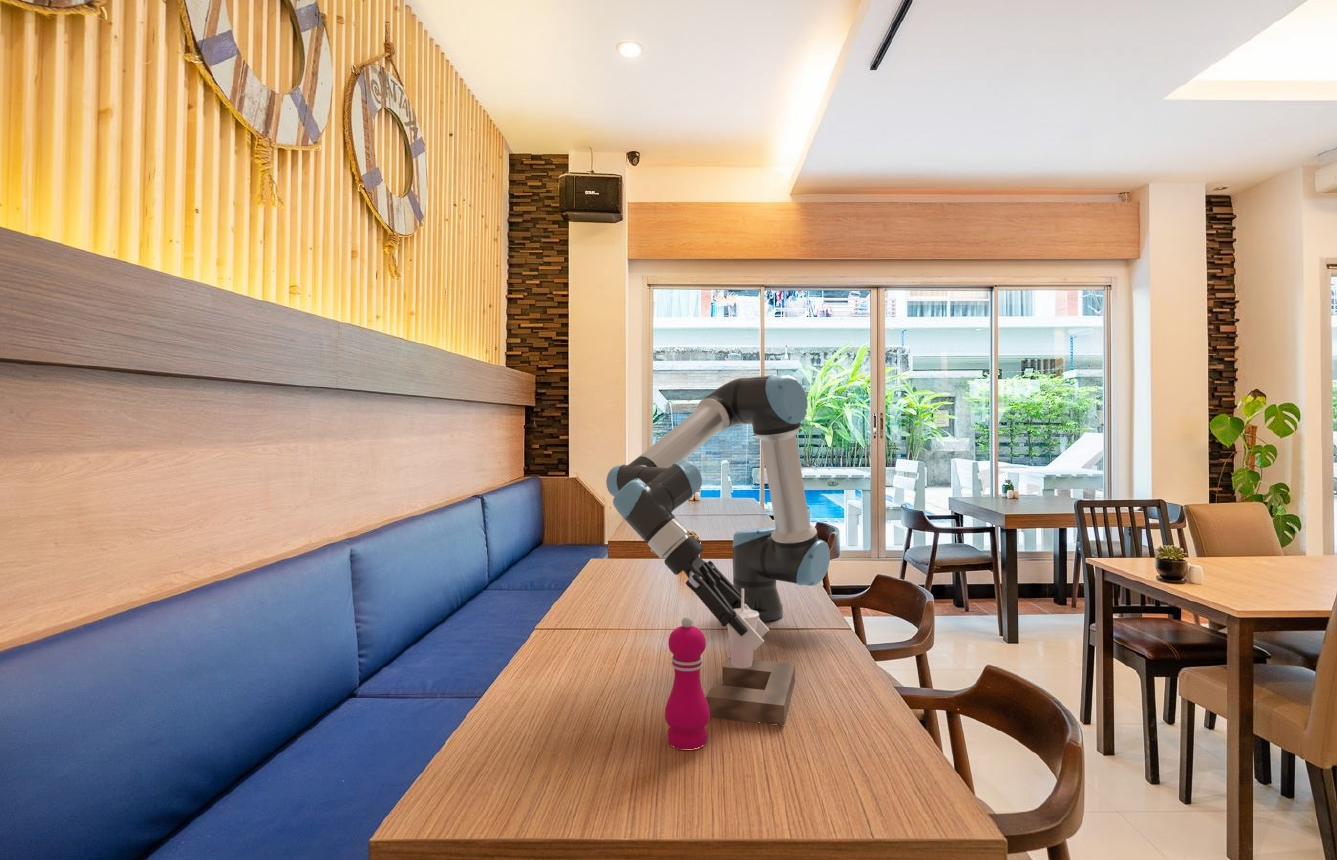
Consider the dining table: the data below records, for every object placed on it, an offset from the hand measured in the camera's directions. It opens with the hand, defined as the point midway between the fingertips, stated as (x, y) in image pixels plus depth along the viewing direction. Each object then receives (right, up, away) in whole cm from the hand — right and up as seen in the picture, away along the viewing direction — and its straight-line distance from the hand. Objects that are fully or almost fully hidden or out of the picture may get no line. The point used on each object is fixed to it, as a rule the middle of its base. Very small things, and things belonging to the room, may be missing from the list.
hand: (761, 640), depth 118 cm
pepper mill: (-14, -11, -16) cm, 24 cm away
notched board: (-1, -11, +1) cm, 11 cm away
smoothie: (-3, -5, +1) cm, 6 cm away
